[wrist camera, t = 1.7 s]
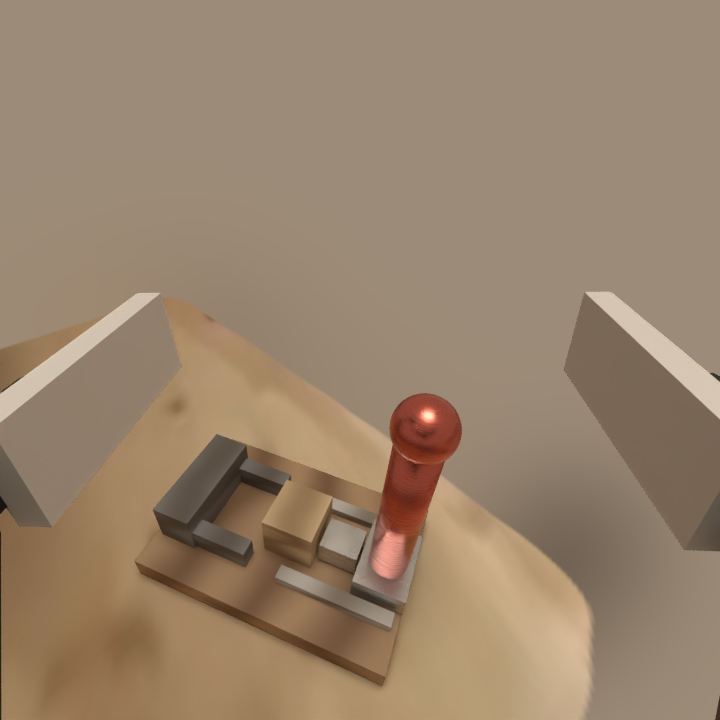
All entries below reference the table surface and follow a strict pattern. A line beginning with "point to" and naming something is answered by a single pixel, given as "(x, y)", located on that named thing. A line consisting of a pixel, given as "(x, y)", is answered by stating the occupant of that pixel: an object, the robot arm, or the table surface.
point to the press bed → (268, 556)
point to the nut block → (297, 523)
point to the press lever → (397, 504)
